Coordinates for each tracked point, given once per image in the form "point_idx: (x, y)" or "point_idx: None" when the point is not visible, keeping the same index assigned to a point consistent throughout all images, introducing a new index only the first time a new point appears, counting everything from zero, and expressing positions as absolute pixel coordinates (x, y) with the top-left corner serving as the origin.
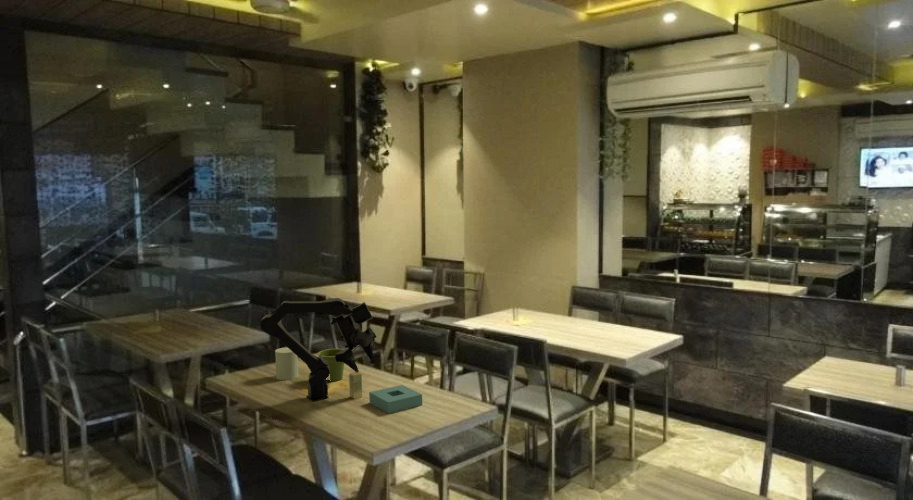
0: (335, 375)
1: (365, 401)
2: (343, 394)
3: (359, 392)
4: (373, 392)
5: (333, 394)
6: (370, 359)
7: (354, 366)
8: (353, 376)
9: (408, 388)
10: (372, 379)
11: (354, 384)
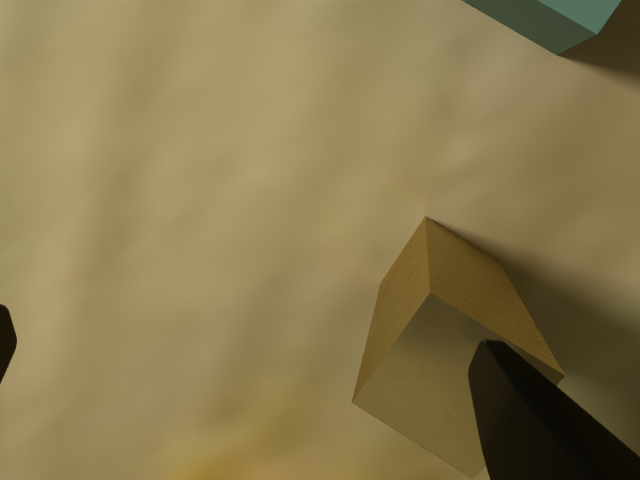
0: None
1: (528, 119)
2: None
3: (448, 242)
4: None
5: (442, 473)
6: (9, 361)
7: (636, 462)
8: (558, 365)
9: None
10: (19, 352)
11: (518, 305)
